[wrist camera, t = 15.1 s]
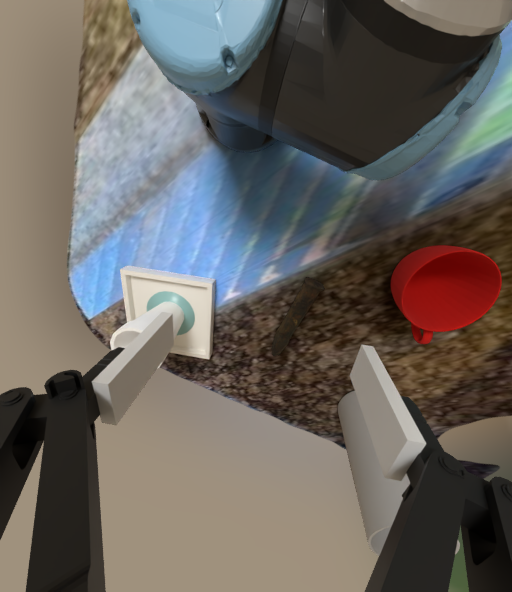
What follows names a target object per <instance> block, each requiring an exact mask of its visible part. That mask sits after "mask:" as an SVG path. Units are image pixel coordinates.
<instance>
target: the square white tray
mask: <svg viewBox="0 0 512 592" xmlns="http://www.w3.org/2000/svg"><path fill="white" fill-rule="evenodd" d="M120 273H121V280H122V287H123V295H124V302H125V309H126V317H127V323H128V322H129V321H133V320H135V319H136V318H138V317H140V316H141V315H143V314H144V313H146V312H148V311H149V310H151V309H153V308H154V307H156V306H158V305H159V304H161V303H163V302H169V301H170V302H173V303H176V304H177V305H178V306H179V307H181V309H182V310H183V312H184V321H183V323H182V325H181V327H180V329H179V331H178V333H177V335H176V337H175V339H174V346H173V347H172V349H171V350H170V351H169V352H170V353H175V354H181V355H187V356H193V357H198V358H204V359H210V356H211V354H212V348H213V326H214V305H215V284H216V279H211V278H204V277H198V276H192V275H185V274H179V273H172V272H166V271H159V270H153V269H146V268H140V267H133V266H126V267H124V268H122V269H120Z"/></svg>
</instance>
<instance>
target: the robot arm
mask: <svg viewBox="0 0 512 592" xmlns="http://www.w3.org/2000/svg"><path fill="white" fill-rule="evenodd" d="M127 1H128V5H129V9H130V13H131V17H132V20H133V22H134V24H135V28H136V30H137V32H138V34H139V36H140V39H141V41H142V43H143V45H144V47H145V49H146V50H147V52H148V53H149V55H150V56H151V58H152V59H153V60H154V62H155V63H156V64H157V65H158V67H159V69H160V70H161V71H162V73H163V75H164V76H166V77H167V79H168V81H169V82H170V83H172V84H174V85H175V86H176V87H177V88H178V89H179V90H181V91H183V92H184V93H185V94H186V95H188V96H189V97H190V98H191V99H192V100H193V101H194V102H195V103H196V106H197V109H198V112H199V115H200V117H201V119H202V121H203V123H204V125H205V126H206V128H207V129H208V131H209V132H210V133H211V134H212V135H213V136H214V137H215V138H216V139H217V140H218V141H219V142H220V143H222V144H223V145H225V146H226V147H228V148H230V149H232V150H235V151H239V152H256V151H260V150H262V149H265V148H267V147H268V146H270V145H272V144H273V143H274V142H276V141H277V140H280V141H282V142H284V143H286V144H288V145H290V146H293V147H295V148H297V149H299V150H301V151H303V152H306V153H308V154H310V155H312V156H314V157H316V158H318V159H321V160H323V161H325V162H327V163H329V164H331V165H334V166H336V167H338V168H339V169H340V170H341V171H343V172H347V173H354V174H357V175H359V176H362V177H365V178H367V179H370V180H384V179H388V178H391V177H394V176H396V175H398V174H400V173H402V172H404V171H405V170H407V169H409V168H410V167H412V166H413V165H414V164H416V163H417V162H418V161H420V160H421V159H422V158H424V157H425V156H426V155H427V154H428V153H429V152H430V151H432V150H433V149H434V148H435V147H436V146H437V145H438V144H439V143H440V142H441V141H442V140H443V139H444V138H445V137H446V136H447V135H448V134H449V133H450V132H451V131H452V130H453V129H454V128H455V126H456V125H457V124H458V123H459V117H460V115H461V114H462V113H463V112H464V111H466V110H467V109H468V108H470V107H471V106H472V105H474V103H475V102H476V100H477V99H478V98H479V96H480V95H481V93H482V92H483V91H484V89H485V88H486V86H487V84H488V83H489V81H490V79H491V77H492V75H493V73H494V71H495V69H496V67H497V65H498V63H499V59H500V54H501V49H502V43H501V39H500V35H499V34H500V33H501V32H502V31H503V30H504V29H505V27H506V26H507V25H508V24H509V23H510V22H511V20H512V0H127ZM173 346H174V334H173V313H167V312H161V313H160V314H159V315H158V316H157V317H156V318H155V319H154V320H153V321H152V322H151V323H150V324H149V325H148V326H147V327H146V328H145V329H144V330H143V331H142V332H141V333H140V334H139V335H138V336H137V337H136V338H135V339H134V340H133V341H132V342H131V343H130V344H129V345H128V346H127V347H126V348H122V347H118V348H116V349H114V350H112V351H110V352H109V353H108V354H107V355H106V356H105V357H104V358H103V359H102V360H100V361H99V362H98V363H97V365H95V366H94V367H93V368H92V369H90V370H89V372H87V373H86V374H85V375H84V376H83V377H82V375H81V372H79V371H77V370H68V371H63V372H60V373H57V374H56V375H54V376H52V377H51V378H50V379H48V380H47V381H46V383H45V385H44V386H45V389H46V392H47V394H42V395H33V393H32V391H31V389H29V388H26V387H25V388H24V387H23V388H16V389H12V390H9V391H7V392H5V393H3V394H1V395H0V539H1V537H2V535H3V533H4V530H5V528H6V526H7V523H8V521H9V519H10V517H11V514H12V512H13V510H14V507H15V505H16V502H17V501H18V498H19V496H20V494H21V491H22V489H23V487H24V485H25V482H26V480H27V478H28V475H29V473H30V471H31V469H32V466H33V464H34V462H35V459H36V457H37V455H38V453H39V450H40V448H41V445H42V443H43V441H44V446H43V455H42V463H41V471H40V479H39V487H38V495H37V503H36V511H35V520H34V528H33V536H32V545H31V552H30V561H29V569H28V578H27V585H26V592H106V591H105V576H104V560H103V546H102V545H103V544H102V529H101V514H100V513H101V512H100V496H99V482H98V465H97V449H96V433H95V424H94V421H95V420H96V419H97V417H98V416H99V415H100V417H101V421H102V423H107V424H112V425H117V424H118V422H119V421H120V419H121V418H122V417H123V415H124V414H125V412H126V411H127V410H128V408H129V407H130V406H131V404H132V403H133V401H134V400H135V399H136V397H137V396H138V395H139V393H140V392H141V390H142V389H143V388H144V386H145V385H146V383H147V382H148V381H149V379H150V378H151V376H152V375H153V374H154V372H155V371H156V369H157V368H158V367H159V365H160V364H161V362H162V361H163V360H164V358H165V357H166V356H167V354H168V353H169V351H170V350H171V349H172V347H173ZM350 378H351V381H352V384H353V386H354V389H355V392H356V395H357V398H358V401H359V404H360V407H361V410H362V413H363V416H364V419H365V422H366V425H367V428H368V431H369V434H370V437H371V440H372V443H373V446H374V449H375V451H376V454H377V457H378V460H379V463H380V466H381V469H382V472H383V475H384V478H388V479H393V480H398V481H402V479H403V478H404V476H405V475H406V474H407V476H408V479H409V481H410V484H409V486H408V487H407V489H406V490H405V491H404V493H403V494H402V497H403V500H402V502H401V504H400V507H399V509H398V512H397V514H396V517H395V519H394V521H393V524H392V526H391V529H390V531H389V534H388V536H387V539H386V541H385V543H384V546H383V548H382V551H381V553H380V556H379V558H378V561H377V563H376V565H375V568H374V570H373V573H372V575H371V577H370V580H369V582H368V585H367V587H366V590H365V592H448V589H449V583H450V578H451V572H452V567H453V562H454V557H455V551H456V546H457V541H458V535H459V530H460V525H461V531H462V539H463V547H464V554H465V562H466V570H467V578H468V585H469V592H512V482H511V481H509V480H507V479H504V478H501V477H494V478H493V479H492V480H491V481H490V482H488V481H485V480H484V479H482V478H479V477H477V476H475V475H473V474H471V473H469V472H467V471H466V469H465V468H464V467H463V465H462V464H461V463H460V462H459V461H458V460H457V459H455V458H454V457H453V456H451V455H450V454H448V453H446V452H444V450H443V448H442V447H441V445H440V444H439V442H438V440H437V438H436V437H435V435H434V433H433V432H432V430H431V428H430V427H429V425H428V424H427V422H426V420H425V418H424V417H423V416H422V413H421V412H420V410H419V408H418V407H417V405H416V404H415V403H414V402H413V401H412V400H411V399H410V398H409V397H404V396H400V395H399V393H398V391H397V389H396V387H395V385H394V384H393V382H392V380H391V378H390V376H389V375H388V373H387V371H386V369H385V367H384V365H383V364H382V362H381V360H380V358H379V356H378V354H377V353H376V351H375V349H374V347H373V346H367V345H361V347H360V350H359V353H358V355H357V358H356V361H355V363H354V366H353V369H352V371H351V374H350Z"/></svg>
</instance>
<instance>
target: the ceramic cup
mask: <svg viewBox="0 0 512 592" xmlns="http://www.w3.org/2000/svg"><path fill="white" fill-rule="evenodd" d="M501 283H502V278H501V272H500V270H499V268H498V266H497V264H496V263H495V262H494V261H493V260H492V259H491V258H489V257H488V256H486V255H484V254H483V253H480V252H477V251H474V250H471V249H467V248H462V247H456V246H447V245H438V246H429V247H425V248H421V249H419V250H416V251H414V252H412V253H410V254H409V255H407V256H406V257H404V258H403V259H402V260H401V261H400V262H399V263H398V265H397V266H396V268H395V269H394V271H393V274H392V277H391V292H392V295H393V298H394V301H395V303H396V304H397V306H398V307H399V309H400V310H401V312H402V313H403V315H404V316H405V317H406V318H407V319H408V320H409V321H410V322H411V328H412V334H413V337H414V339H415V340H416V341H417V342H418V343H420V344H428V343H429V342H430V341H431V339H432V336H433V331H434V332H445V331H451V330H455V329H459V328H462V327H464V326H467V325H469V324H471V323H473V322H474V321H476V320H477V319H479V318H480V317H482V316H483V315H484V314H485V313H486V312H487V311H488V310H489V309H490V308H491V307H492V306H493V304H494V303H495V301H496V299H497V298H498V296H499V293H500V290H501ZM420 328H421V329H423V338H422V335H421V332H420Z"/></svg>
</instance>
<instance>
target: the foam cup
mask: <svg viewBox="0 0 512 592" xmlns="http://www.w3.org/2000/svg"><path fill="white" fill-rule="evenodd" d="M161 312H167V313H173V334H174V339H175V337H176V335H177V333H178V331H179V329H180V327H181V325H182V323H183V321H184V312H183V310H182V309H181V307H179V306H178V305H177V304H176V303H173V302H170V301H169V302H163V303H161V304H159V305H158V306H156V307H154V308H153V309H151V310H149V311H148V312H146V313H144V314H143V315H141V316H140V317H138V318H136V319H135V320H133V321H129V322H128V323H126V324H125V325H123V326H122V327H120V328H119V329H118V330H117V331H116V332H115V333H113V336H112V338H111V341H110V344H111V349H112V350H114V349H116V348H118V347H122V348H126V347H127V346H128V345H129V344H130V343H131V342H132V341H133V340H134V339H135V338H136V337H137V336H138V335H139V334H140V333H141V332H142V331H143V330H144V329H145V328H146V327H147V326H148V325H149V324H150V323H151V322H152V321H153V320H154V319H155V318H156V317H157V316H158V315H159V314H160V313H161ZM167 355H168V354H167ZM166 357H167V356H166ZM166 357H165V358H164V360H165V359H166ZM164 360H163V361H164ZM163 361H162V362H161V364H162V363H163ZM161 364H160V365H159V367H160V366H161ZM159 367H158V368H159Z"/></svg>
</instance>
